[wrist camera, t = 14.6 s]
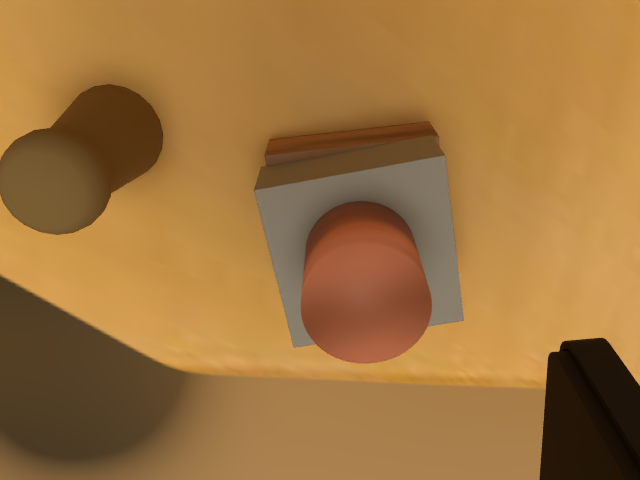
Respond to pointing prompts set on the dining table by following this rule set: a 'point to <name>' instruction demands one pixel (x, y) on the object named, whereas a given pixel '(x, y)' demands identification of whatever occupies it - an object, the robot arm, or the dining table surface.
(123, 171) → the cork
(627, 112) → the dining table surface
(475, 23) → the dining table surface
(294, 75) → the dining table surface
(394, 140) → the tower bottom block
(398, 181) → the tower top block
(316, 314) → the reddish pink cylinder
